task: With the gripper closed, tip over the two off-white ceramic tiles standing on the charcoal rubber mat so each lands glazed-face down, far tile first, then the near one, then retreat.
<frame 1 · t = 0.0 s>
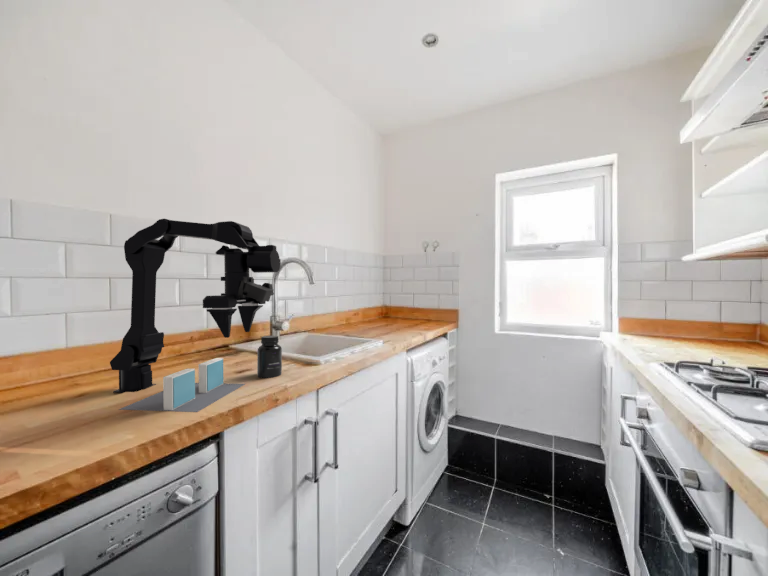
hand: (237, 334, 80), 15 cm above the worktop, fingers open, 9 cm apart
mat: (189, 397, 76), on the worktop
tile far: (211, 388, 81), point 1 cm above the worktop, touching mat
supplement bottle: (269, 377, 93), on the worktop
tile near: (180, 403, 70), point 1 cm above the worktop, touching mat
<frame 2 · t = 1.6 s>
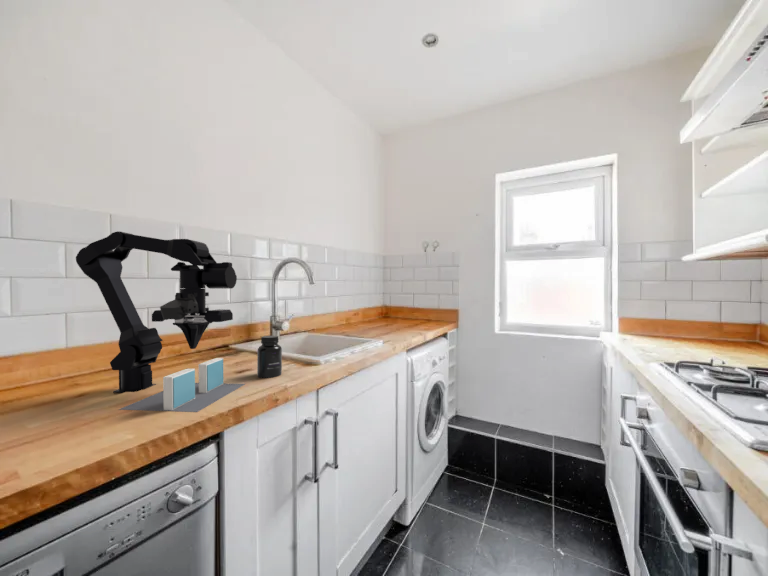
hand: (193, 348, 82), 11 cm above the worktop, fingers closed
nothing on the worktop moved.
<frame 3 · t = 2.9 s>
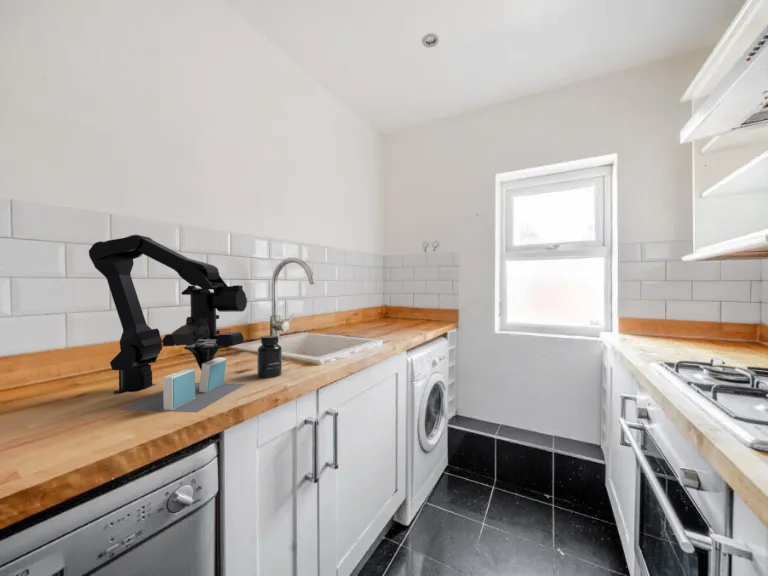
hand: (204, 372, 82), 5 cm above the worktop, fingers closed
tile far: (211, 387, 81), point 1 cm above the worktop, tilted 8°, touching gripper, mat
everything else where it was.
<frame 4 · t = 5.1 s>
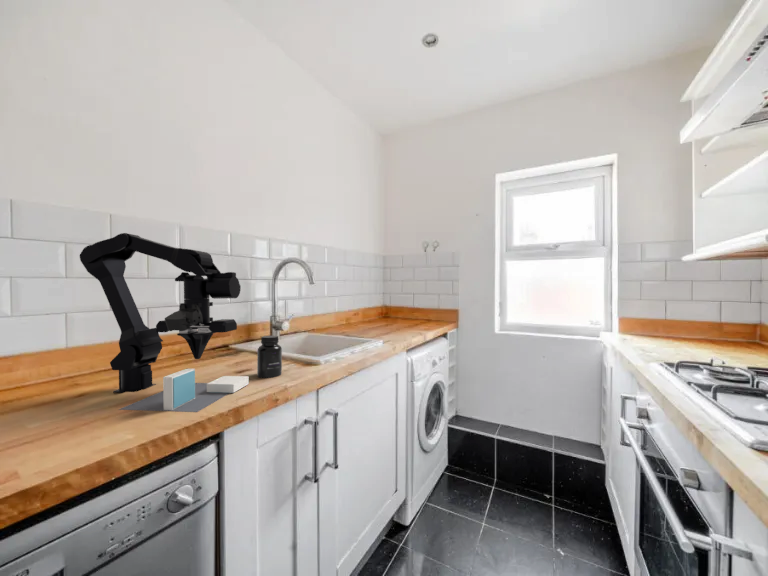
hand: (197, 358, 82), 8 cm above the worktop, fingers closed
tile far: (215, 383, 81), point 2 cm above the worktop, tilted 90°, touching mat
everything else where it was.
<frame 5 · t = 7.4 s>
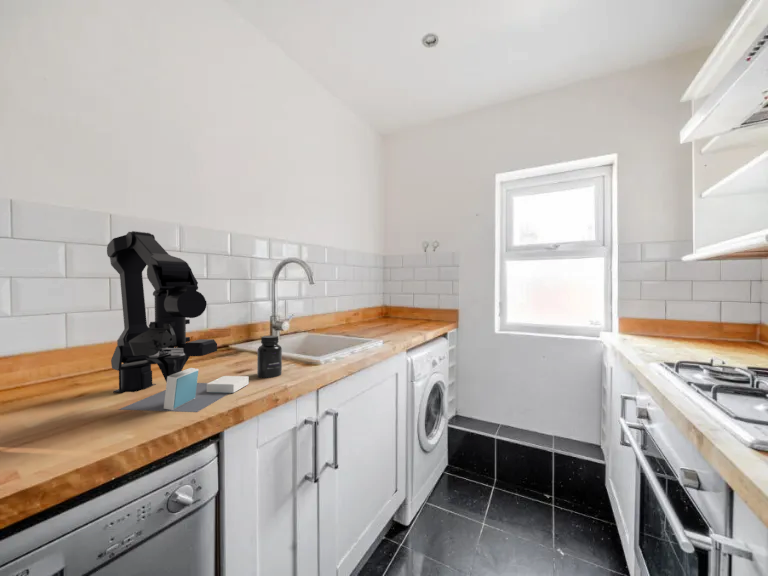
hand: (171, 385, 70), 5 cm above the worktop, fingers closed
tile near: (180, 403, 70), point 1 cm above the worktop, tilted 8°, touching gripper, mat
everything else where it was.
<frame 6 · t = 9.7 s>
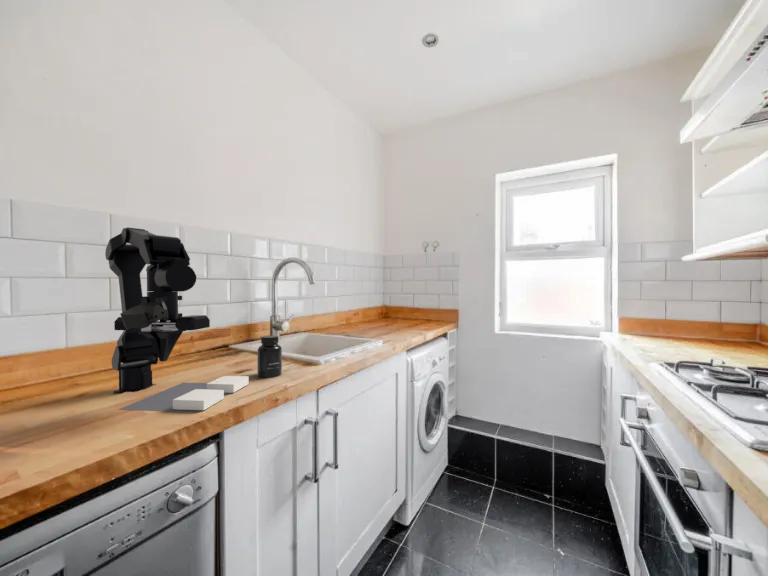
hand: (163, 361, 71), 10 cm above the worktop, fingers closed
tile near: (184, 398, 70), point 2 cm above the worktop, tilted 90°, touching mat
everything else where it was.
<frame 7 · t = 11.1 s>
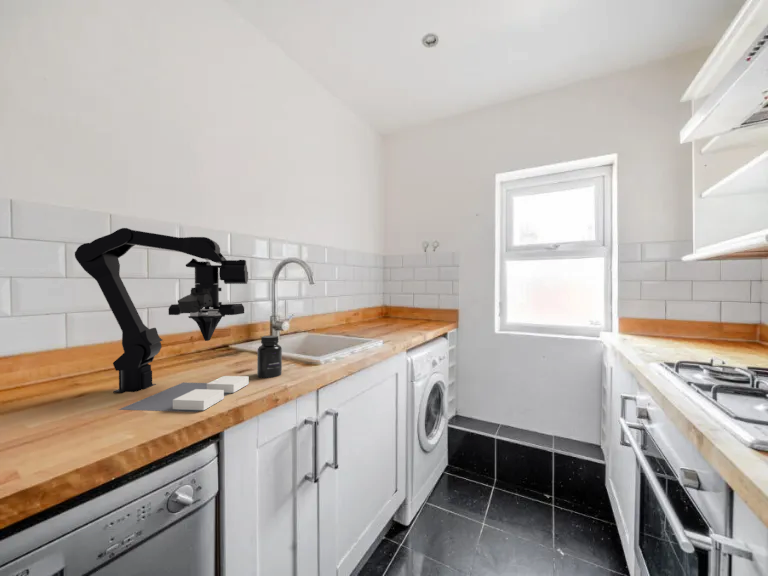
hand: (207, 340, 87), 12 cm above the worktop, fingers closed
nothing on the worktop moved.
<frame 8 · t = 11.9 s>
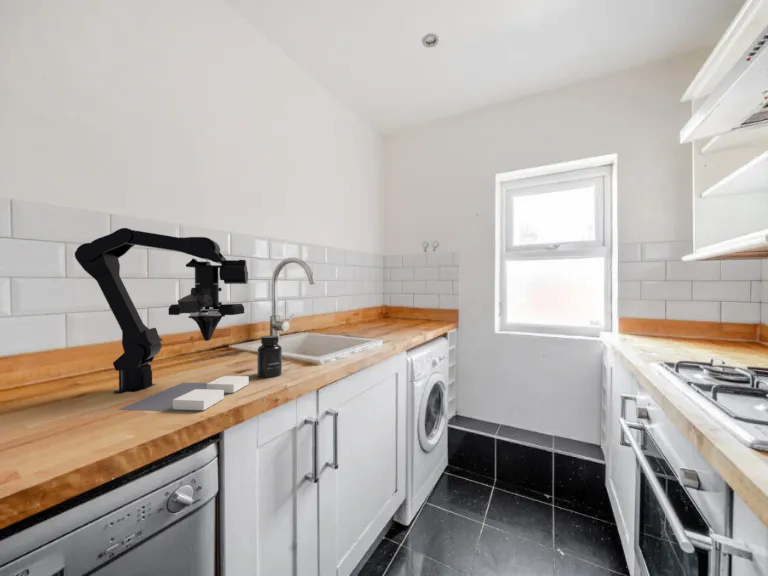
hand: (207, 340, 87), 12 cm above the worktop, fingers closed
nothing on the worktop moved.
at the end: tile far tilted 90°; tile near tilted 90°; tile near inside the target area (2.5 cm from its centre), point 1.8 cm above the worktop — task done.
